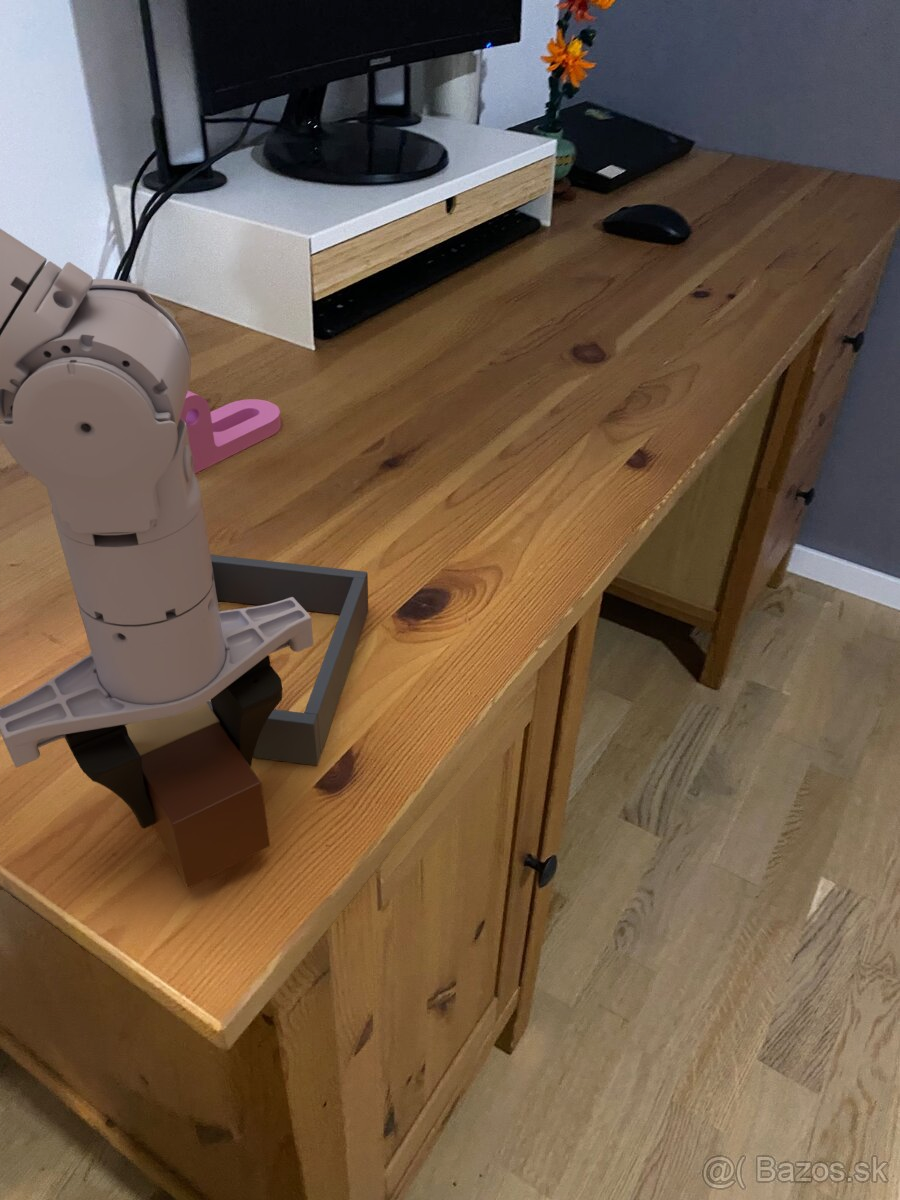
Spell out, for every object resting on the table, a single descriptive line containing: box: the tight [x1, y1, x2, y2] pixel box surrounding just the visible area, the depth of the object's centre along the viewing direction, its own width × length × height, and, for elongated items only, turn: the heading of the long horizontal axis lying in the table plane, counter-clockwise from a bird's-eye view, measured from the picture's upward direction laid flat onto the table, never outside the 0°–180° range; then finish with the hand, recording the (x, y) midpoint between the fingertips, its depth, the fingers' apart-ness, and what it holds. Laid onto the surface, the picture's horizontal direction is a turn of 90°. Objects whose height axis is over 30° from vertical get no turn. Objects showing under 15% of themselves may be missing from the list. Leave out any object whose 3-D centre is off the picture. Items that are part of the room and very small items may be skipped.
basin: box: [207, 554, 369, 766], centre depth 58 cm, size 12×15×4 cm
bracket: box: [180, 390, 282, 475], centre depth 81 cm, size 13×6×7 cm, turn 143°
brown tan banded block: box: [124, 702, 271, 889], centre depth 47 cm, size 5×9×5 cm, turn 36°
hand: (190, 790), depth 48 cm, fingers closed on brown tan banded block, 4 cm apart
